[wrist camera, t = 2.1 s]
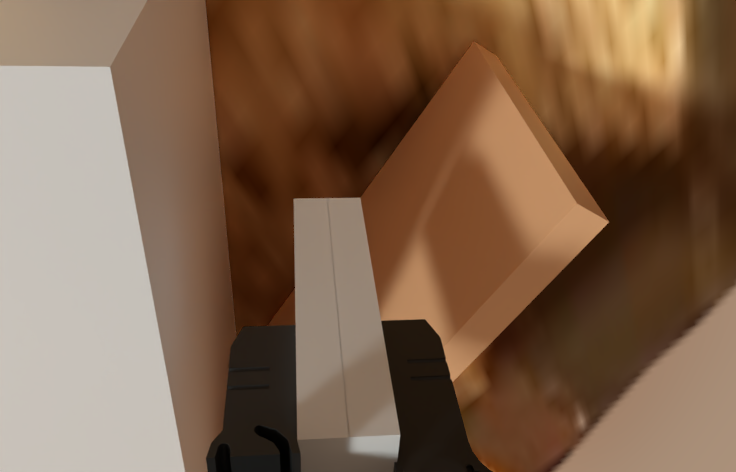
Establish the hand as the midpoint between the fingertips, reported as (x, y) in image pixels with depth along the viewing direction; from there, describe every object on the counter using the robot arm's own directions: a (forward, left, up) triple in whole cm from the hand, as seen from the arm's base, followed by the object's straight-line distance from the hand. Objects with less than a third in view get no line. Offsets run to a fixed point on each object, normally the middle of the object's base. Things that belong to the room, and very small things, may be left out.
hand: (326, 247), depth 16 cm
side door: (+6, +2, -9) cm, 11 cm away
